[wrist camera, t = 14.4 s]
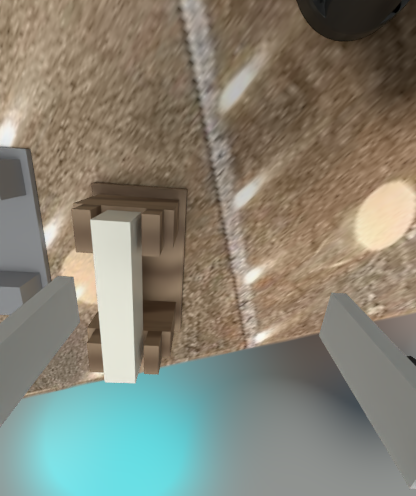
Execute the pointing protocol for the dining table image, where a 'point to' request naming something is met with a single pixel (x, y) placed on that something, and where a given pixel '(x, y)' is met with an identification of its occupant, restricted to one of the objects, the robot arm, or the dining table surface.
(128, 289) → the white rectangular bar
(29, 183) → the stand
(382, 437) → the robot arm
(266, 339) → the dining table surface
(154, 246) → the notched wooden cradle
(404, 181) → the dining table surface
